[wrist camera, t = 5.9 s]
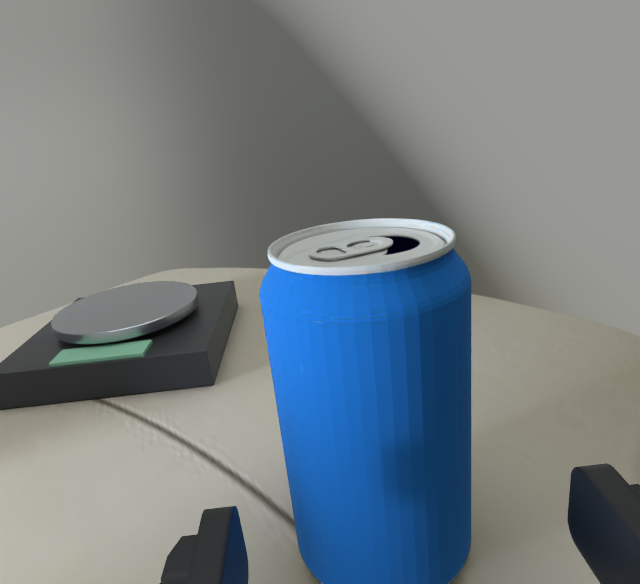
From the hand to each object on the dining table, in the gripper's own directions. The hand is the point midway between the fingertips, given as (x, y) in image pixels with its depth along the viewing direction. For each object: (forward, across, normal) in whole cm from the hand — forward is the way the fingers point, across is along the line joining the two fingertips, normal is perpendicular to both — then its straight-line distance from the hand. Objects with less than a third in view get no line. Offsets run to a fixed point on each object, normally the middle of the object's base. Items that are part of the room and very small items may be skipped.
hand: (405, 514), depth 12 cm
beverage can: (+5, 0, +7) cm, 9 cm away
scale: (+26, +16, +7) cm, 31 cm away
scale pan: (+26, +16, +4) cm, 31 cm away
